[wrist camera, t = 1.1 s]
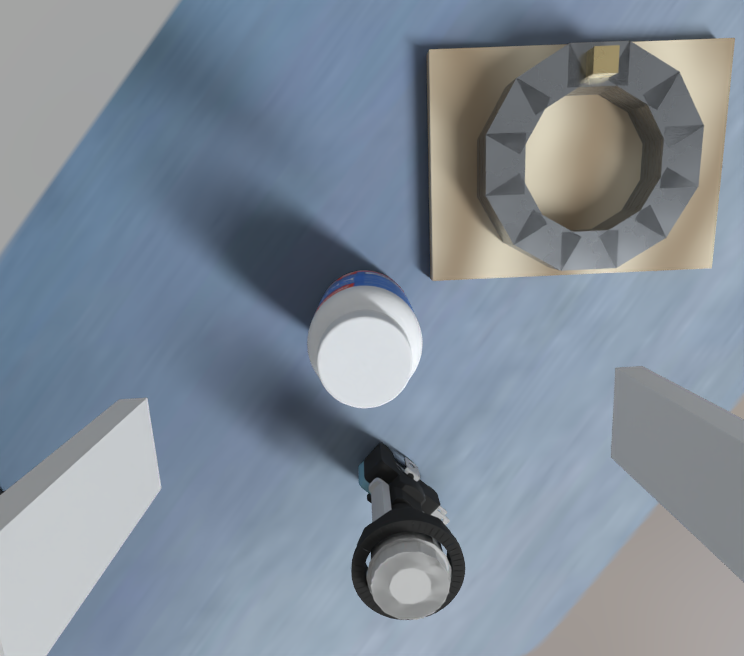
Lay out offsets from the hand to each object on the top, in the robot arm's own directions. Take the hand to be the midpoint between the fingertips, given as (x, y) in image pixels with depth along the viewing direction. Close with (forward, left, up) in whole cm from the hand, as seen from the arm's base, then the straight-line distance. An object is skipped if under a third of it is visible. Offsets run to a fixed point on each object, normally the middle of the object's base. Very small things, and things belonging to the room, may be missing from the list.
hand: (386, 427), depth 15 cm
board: (+12, +8, -17) cm, 22 cm away
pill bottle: (0, 0, -17) cm, 17 cm away
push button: (+2, -11, -17) cm, 20 cm away
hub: (+12, +8, -17) cm, 22 cm away
